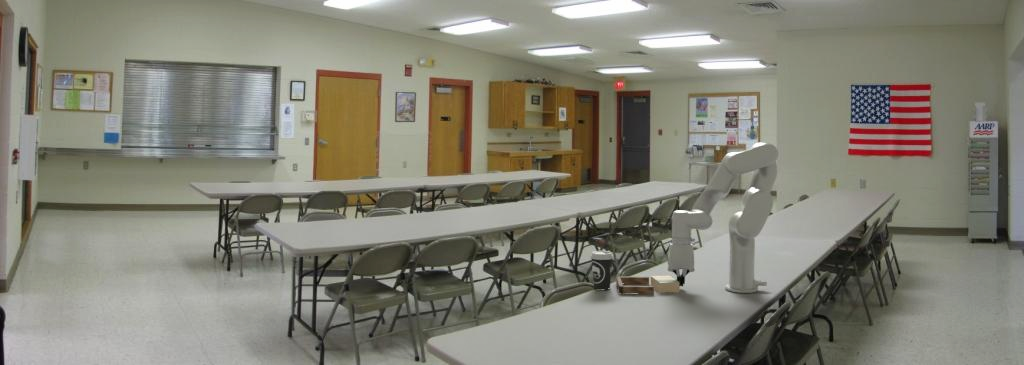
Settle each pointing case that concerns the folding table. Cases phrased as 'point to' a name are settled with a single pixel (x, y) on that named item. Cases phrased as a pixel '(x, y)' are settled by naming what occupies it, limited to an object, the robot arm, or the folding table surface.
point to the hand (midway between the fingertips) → (680, 285)
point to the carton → (665, 284)
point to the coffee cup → (601, 269)
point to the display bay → (634, 289)
